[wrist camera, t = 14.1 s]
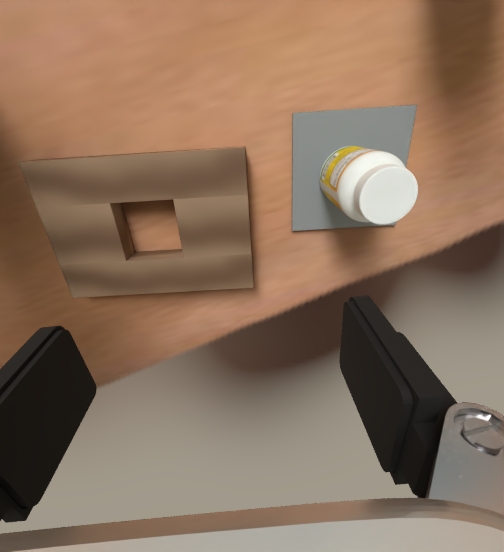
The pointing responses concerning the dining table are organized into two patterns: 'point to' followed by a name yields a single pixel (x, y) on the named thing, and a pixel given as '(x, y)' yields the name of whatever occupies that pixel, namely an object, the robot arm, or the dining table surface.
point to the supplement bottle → (368, 184)
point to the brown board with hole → (114, 230)
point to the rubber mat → (330, 137)
